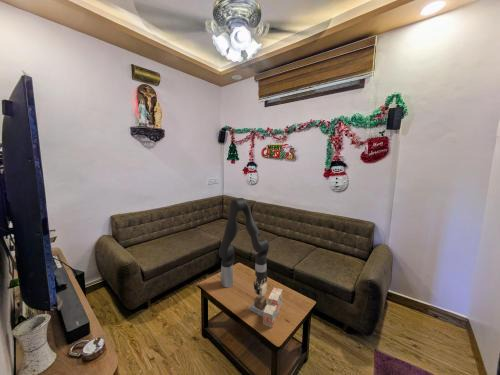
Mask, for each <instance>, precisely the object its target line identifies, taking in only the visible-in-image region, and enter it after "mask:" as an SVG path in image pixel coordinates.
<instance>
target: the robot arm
mask: <svg viewBox="0 0 500 375" xmlns="http://www.w3.org/2000/svg"><path fill="white" fill-rule="evenodd" d="M241 212H242V213H243V215H244V217H245V218H244V219H245V229H246V231H247V233H248V235H249V236H250V240H251V244H252V248H253V250H254V251H255V252H256V254H255V264H254V266H255V267H254V272H255V273H254V275H255V278H256V279H255V280H256V281H253V289H254V291H255V290H256V293H257V294H256V295H257V296H258V295H259V294H260V286H261V284H262V282H264V283H267V282H268V273H267V269H268V268H267V265H268V264H267V256H268V253H269V249H270V243H269V241H268V240H267V239H266V238H262V239H259V237H260V236H261V232H260V230H259V228H258V226H257V223H256V222H255V220H254V218H253V215H252V211H251V209H250V207H249V204H248V201H247V200H246V199H245V198H243V197H239V198H234V199H232V200H231V201H230V204H229V210H228V216H227V222H226V225H225V228H224V233H223V237H222V241H221V243H220V246H219V249H218V255H219V257H220V259H221V263H220V264H221V265H220V266H221V267H220V270H221V272H220V284H221V286H222V287H224V288H230V287H232V286H234V262H235V248H234V246H233V244H232V242H233V241H234V240H235V238H236V237H237V235H238V231H239V223H238V221H237V216H238V213H241ZM258 283H259V284H260V285H259V284H258ZM258 286H259V288H258Z"/></svg>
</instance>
